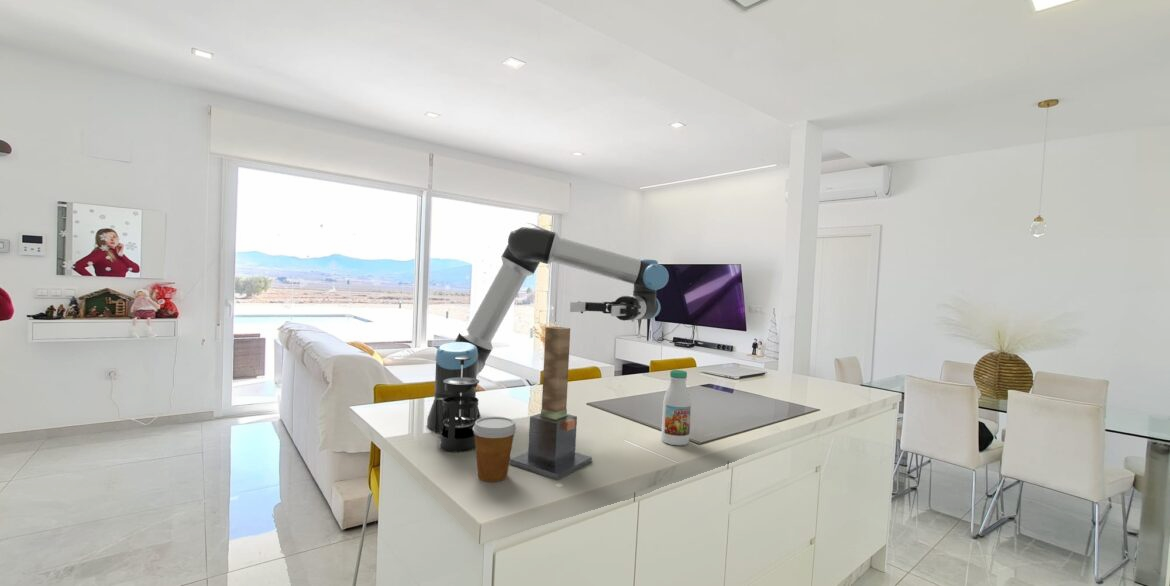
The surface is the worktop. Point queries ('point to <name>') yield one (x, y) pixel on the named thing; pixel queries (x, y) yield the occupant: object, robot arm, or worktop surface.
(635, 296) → the robot arm
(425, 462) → the worktop surface
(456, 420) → the french press
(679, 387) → the milk bottle
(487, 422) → the disposable coffee cup
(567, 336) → the post
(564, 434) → the stand
